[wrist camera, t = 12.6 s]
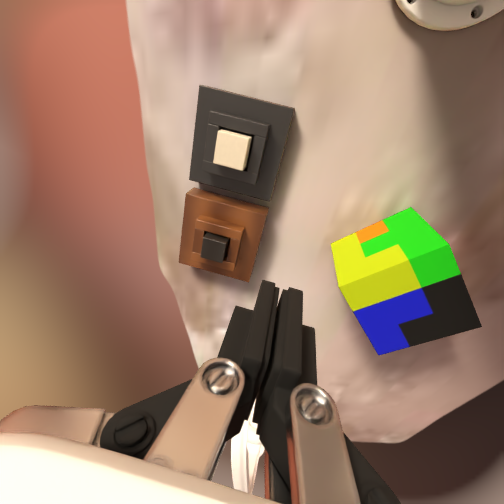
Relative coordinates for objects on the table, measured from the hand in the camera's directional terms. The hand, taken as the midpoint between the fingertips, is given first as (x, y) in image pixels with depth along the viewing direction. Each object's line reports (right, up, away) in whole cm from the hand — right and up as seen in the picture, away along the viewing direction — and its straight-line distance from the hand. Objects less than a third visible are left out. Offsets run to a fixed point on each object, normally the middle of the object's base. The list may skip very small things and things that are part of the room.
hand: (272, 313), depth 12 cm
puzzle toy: (+16, +2, +25) cm, 30 cm away
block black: (-2, +15, +21) cm, 26 cm away
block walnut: (-5, +5, +27) cm, 28 cm away
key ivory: (-3, +13, +18) cm, 23 cm away
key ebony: (-5, +3, +23) cm, 24 cm away
